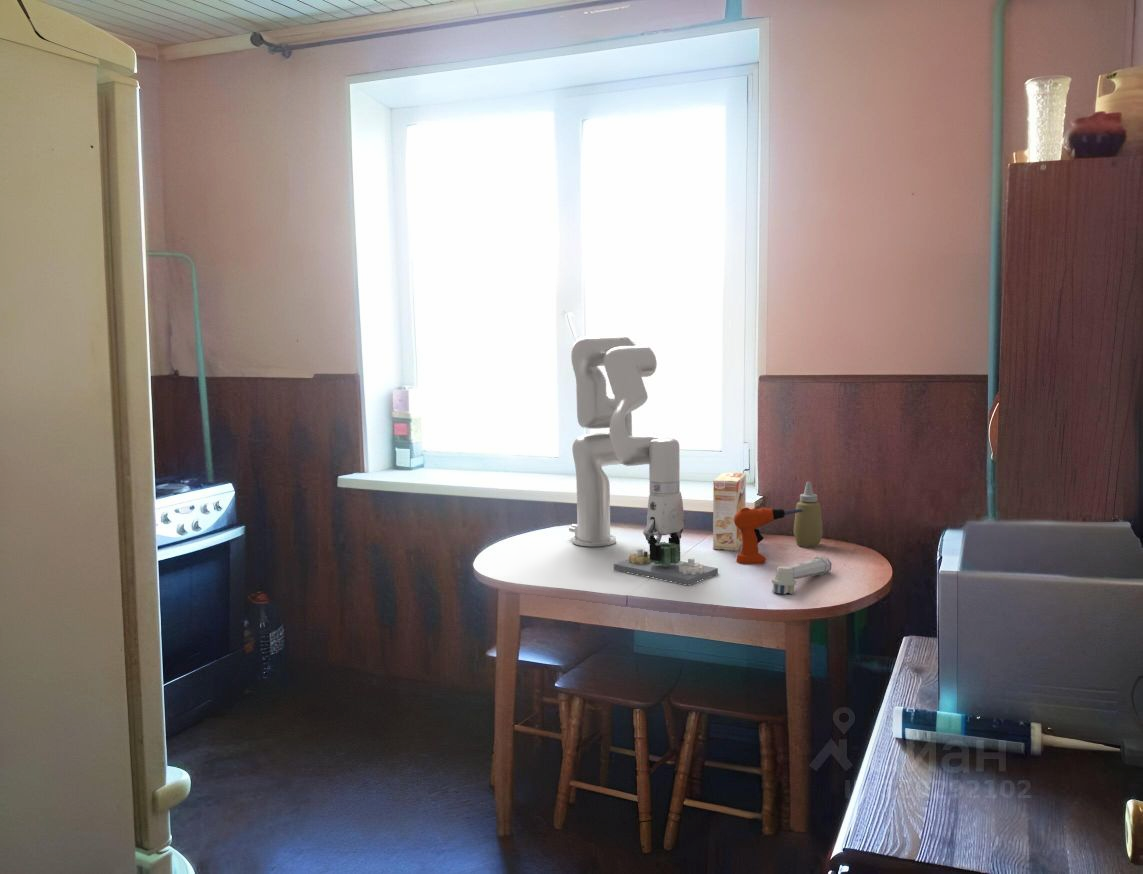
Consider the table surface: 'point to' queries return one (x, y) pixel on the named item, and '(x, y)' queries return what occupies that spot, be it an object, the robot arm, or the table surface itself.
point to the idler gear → (669, 553)
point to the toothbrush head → (798, 574)
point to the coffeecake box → (728, 509)
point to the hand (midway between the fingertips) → (664, 556)
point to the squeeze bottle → (808, 519)
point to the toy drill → (755, 531)
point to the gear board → (665, 569)
